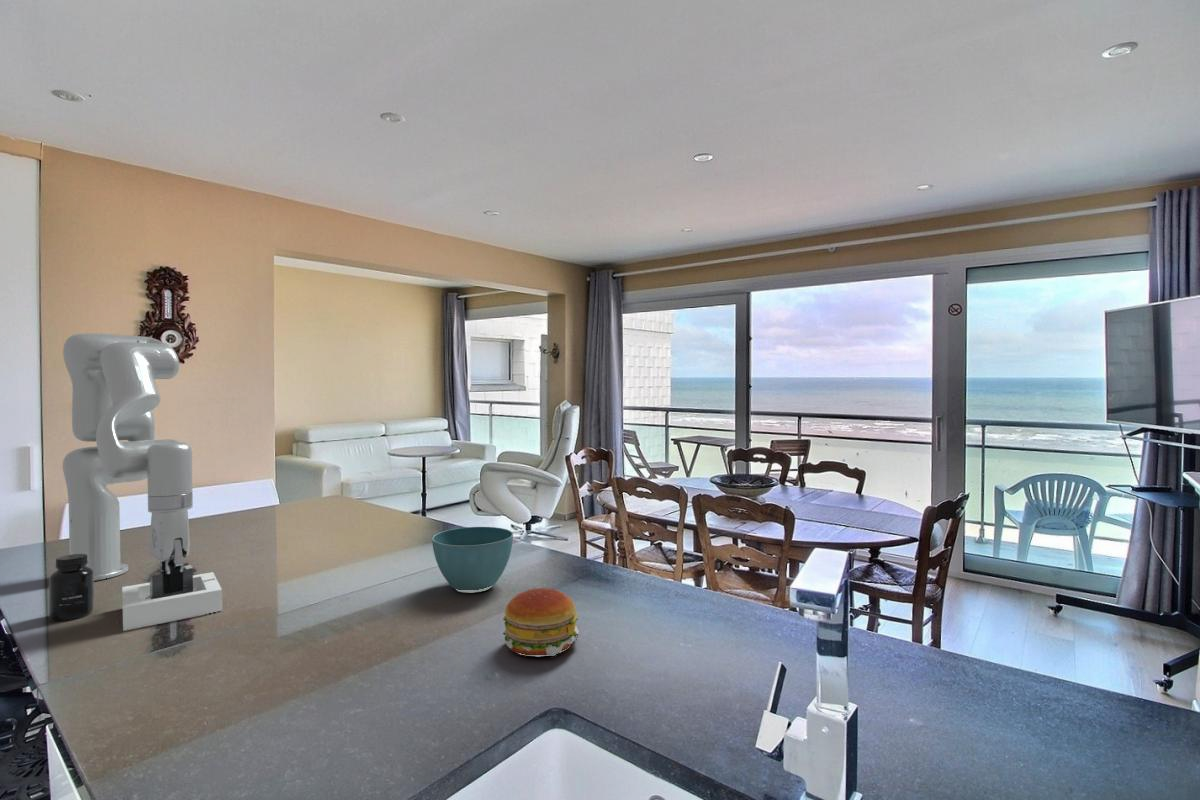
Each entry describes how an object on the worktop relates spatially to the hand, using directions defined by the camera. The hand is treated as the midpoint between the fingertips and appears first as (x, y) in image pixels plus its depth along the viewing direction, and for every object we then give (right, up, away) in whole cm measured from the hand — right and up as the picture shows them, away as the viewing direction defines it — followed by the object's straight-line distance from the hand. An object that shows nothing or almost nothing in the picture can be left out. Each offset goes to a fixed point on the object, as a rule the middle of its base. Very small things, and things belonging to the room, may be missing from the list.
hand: (171, 589), depth 124 cm
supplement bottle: (-18, -4, -3) cm, 19 cm away
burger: (+78, -5, -17) cm, 81 cm away
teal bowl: (+60, -4, +14) cm, 61 cm away
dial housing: (0, -4, 0) cm, 4 cm away
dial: (0, -2, 0) cm, 2 cm away
